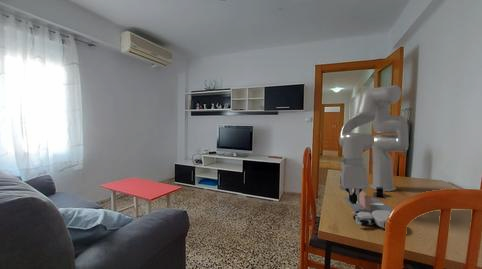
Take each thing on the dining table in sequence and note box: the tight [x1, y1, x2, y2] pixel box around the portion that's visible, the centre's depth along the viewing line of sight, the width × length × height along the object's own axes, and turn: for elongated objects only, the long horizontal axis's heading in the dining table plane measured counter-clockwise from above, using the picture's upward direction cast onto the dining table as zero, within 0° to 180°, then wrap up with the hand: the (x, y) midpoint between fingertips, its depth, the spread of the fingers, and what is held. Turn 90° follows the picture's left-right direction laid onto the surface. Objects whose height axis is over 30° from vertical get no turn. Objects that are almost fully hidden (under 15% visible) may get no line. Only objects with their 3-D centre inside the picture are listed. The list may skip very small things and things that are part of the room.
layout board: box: [343, 196, 393, 214], centre depth 97 cm, size 19×16×1 cm
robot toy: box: [350, 210, 391, 229], centre depth 78 cm, size 12×4×15 cm
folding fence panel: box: [359, 191, 371, 211], centre depth 93 cm, size 9×1×6 cm, turn 169°
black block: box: [372, 187, 387, 200], centre depth 110 cm, size 12×7×5 cm, turn 147°
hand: (353, 202), depth 91 cm, fingers closed
